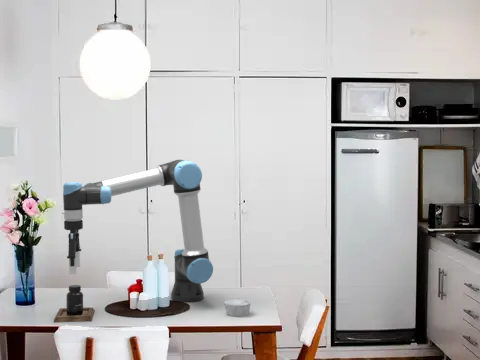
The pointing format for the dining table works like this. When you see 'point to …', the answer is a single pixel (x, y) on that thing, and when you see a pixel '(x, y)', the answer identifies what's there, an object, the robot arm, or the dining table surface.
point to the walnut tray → (64, 317)
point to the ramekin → (237, 307)
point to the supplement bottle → (74, 301)
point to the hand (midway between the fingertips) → (74, 270)
